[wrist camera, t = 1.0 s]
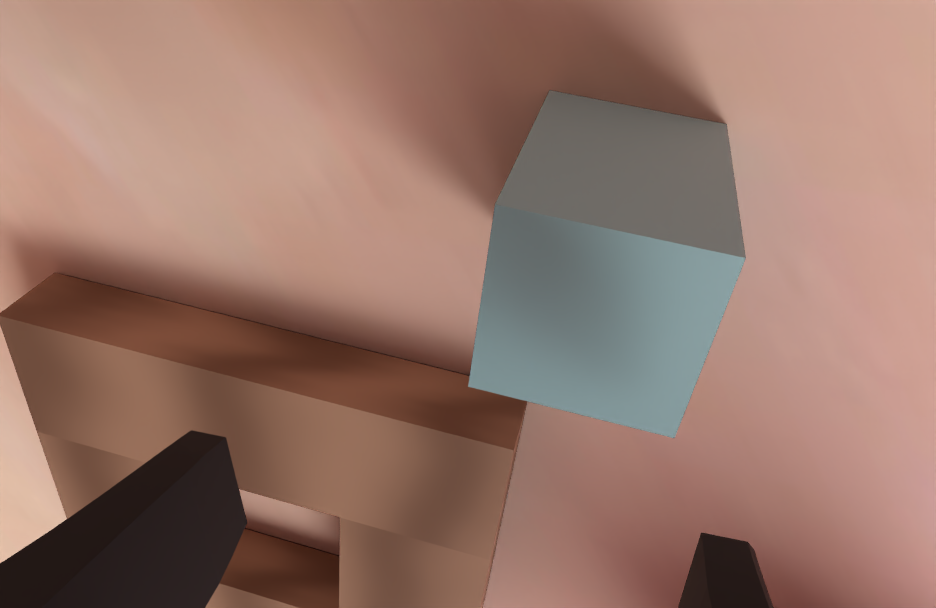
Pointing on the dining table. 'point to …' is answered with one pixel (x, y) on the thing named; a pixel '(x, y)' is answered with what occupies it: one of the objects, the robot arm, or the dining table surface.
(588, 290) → the pale blue box
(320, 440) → the block with rectangular hole
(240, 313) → the dining table surface
